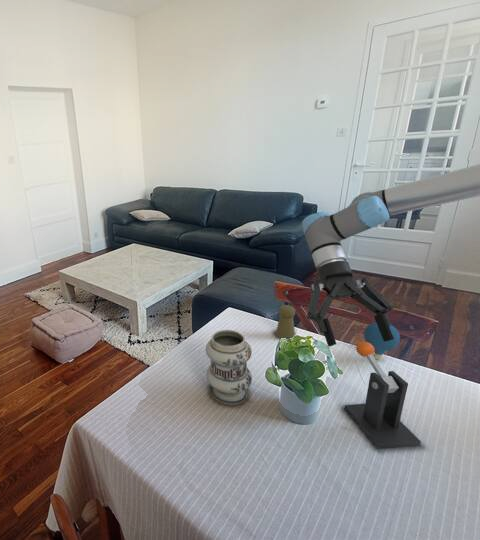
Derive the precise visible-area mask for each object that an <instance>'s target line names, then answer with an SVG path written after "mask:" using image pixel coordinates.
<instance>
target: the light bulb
mask: <svg viewBox="0 0 480 540" xmlns="http://www.w3.org/2000/svg"><path fill="white" fill-rule="evenodd" d="M389 328H390V330H391V333H392V335H393V337H394V339H393V340H390V341H386V342H384V341H383V338H382V336H381V333H380V331H379V328H378V326H377V323H376V321H375V322H372V323H370V324H368V325H367V326H366V327H365V329H364V332H363V339H364V342H368V343H370V344H372V345H373V347H374V349H375V352H374V354H373V356H374V358H375V359H376V360H381V359H383V358H382V357H383V355H384V354H385V352H389V351H392V350H394V349H396V348H397V347H398V346H399V344H400V342H401V335H400V332H399V331H398V329H397V328H396V327H395V326H394V325H392V324H391V326H389Z"/></svg>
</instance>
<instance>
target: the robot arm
mask: <svg viewBox="0 0 480 540" xmlns="http://www.w3.org/2000/svg"><path fill="white" fill-rule="evenodd" d="M477 197H480V163H478V164H474V165H471V166H467V167H463V168H460V169H456V170H452V171H447V172H445V173H441V174H438V175H437V174H436V175H434V176H430V177H426V178H421V179H418V180H414V181H411V182H407V183H404V184H399V185H396V186H392V187H389V188H384V189H381V190H377V191H373V192H371V191H367V192H363V193H360V194H358V195H357V196H356V197H354V198H353V199H352V201H351V203H350V204H349V205H348V206H346V207H345V208H343V209H341V210H339V211H336V212H335V213H333V214H330V213H328V212H326V211H318V212H315V213H312V214H309V215H307V216H306V217H305V218H304V219H303V220H302V222H301V226H302V231H303V235H304V238H305V240H306V243H307V246H308V248H309V251H310V254H311V257H312V259H313V263H314V266H315V268H316V269H317V270H316V271H317V274H318V278H319V280H320V282H321V283H320V282H317V281H315V282H314V283H312V284H311V285H310V292H311V294H310V299H309V305H308V310H307V315H306V318H307V319H308V320H312V321H314V322H315V323H316V324H317V327H318V330H319V332H320V333H321V334H323V336H324V338H325V341H326V344H327V347H333V346H335V345H337V340H336V338H335V335H334V332H333V330H332V327H331V323H330V320H329V318H328V317H327V318H325V317H326V314H327V312H328V311H329V309H330V308H331V307H330V306H331V305H332V303H333V301H334V299H335V300H340V299H349V298H350V299H352V300H355V301H356V302H357V303H359V304H361V305H362V306H364V307H365V308H367V310H369V311H371V312H373V313H374V314H375V316H373V318H374V321H375V322H376V323H377V326H378V328H379V331H380V333H381V336H382V338H383V341H384V342H386V341H390V340H393V339H394V337H393V335H392V333H391V330H390V328H389V326H391V325H392V323H391V321H390V318H389V316H388V313H389V312H390V311H392V310H393V309H394V306H393V305H392V304H391V303H389V301H388V300H387V299H386V298H385V297H384V296H382V295H381V293H380V292H379V291H378V290H376V289H375V288H374V286H372V285H371V283H370V281H369V279H368V278H367V277H362V278H361V279H358V280H356V279H355V278H354V277H353V270H352V268H351V266H350V263H349V262H348V257H347V255H346V252H345V251H344V248H343V245H342V243H341V242H342V241H343V240H346V239H348V238H350V237H354V236H355V235H358V234H361V233H363V232H365V231H368V230H370V229H373V228H377V227H378V226H379V225H382V224H385V223H386V222H388V221H389V220H390V217H391V216H394V215H395V216H396V215H398V214H403V213H404V214H405V213H408V212H413V211H417V210H422V209H426V208H431V207H437V206H440V205H445V204H449V203H450V204H451V203H455V202H459V201H464V200H468V199H473V198H477ZM322 290H323V291H324V292H325V293H326V295H325V296H324V299H323V302H322V303H321V306H320V307H319V309H318V306H319V301H320V298H321V297H320V296H321V292H322Z"/></svg>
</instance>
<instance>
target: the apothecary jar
mask: <svg viewBox="0 0 480 540" xmlns="http://www.w3.org/2000/svg"><path fill="white" fill-rule="evenodd" d="M204 351H205V354H206V356H207V357H208V358H209V361H210V362H209V363H210V365H208V368H207V369H206V373H205V377H206V381H207V382H208V384H209V385H210V386H211V387H210V394H211V396H212V397H213V398H214V399H215V400H216V401H217V402H218V403H221V404H225V405H229V406H232V405H233V406H234V405H238V404H241V403H243V402H245V401H246V399H247V398H248V390H247V389H248V388H249V387H250V386H251V384H252V380H253V375H252V373H251V371H250V369H249V368H248V364H247V362H248V361H249V360H250V359H251V357H252V352H253V351H252V347H251V345H250V344H249V343H248V342H247V341H246V337H245V336H244V335H243V334H242V333H241V332H240V331H236V330H234V329H233V330H232V329H221V330H218V331H215V332H213V334H211V339H210V340H208V341H207V343H206V345H205V350H204Z"/></svg>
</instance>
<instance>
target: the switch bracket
mask: <svg viewBox="0 0 480 540" xmlns="http://www.w3.org/2000/svg"><path fill="white" fill-rule="evenodd" d="M387 376H392V378H393V379H394V381H395V382H396V384H397V385H398V387H399V388H398V389H397V390H396V391H395V392H394V393H388V389H389V385H388V384H387V383H386V382H385V381H384V380H383V379H382V378H381V377H379V376H378V375H377V373H376V372H370V374H369V380H368V386H367V390H366V391H367V392H366V397H365V403H354V404H353V403H352V404H345V405H344V408H343V409H344V411H345V412H346V413H347V414H348V415H349V417H350V418H351V419H352V420H353V421H354V423H355V424H356V425H357V426H358V428H360V430H361V431H362V432H363V433H364V435H366V437H367V438H368V440H369V441H371V443H372V444H373V445H374V447H375V448H376V449H377V450H380V449H397V448H409V447H419V446H421V443H422V441H421V440H420V439H419V438H418V437H417V436H416V435H415V434H414V433H413V432H412V431H411V430H410V429H409V428H408V427H407V426H406V425H405V424H404V423H403V422H402V421H401V418H402V413H403V410H404V404H405V400H406V396H407V391H408V387H409V383H408V382H407V381H406V380H405V379H403V378H402V377H401V376H400V375H399V374H397V373H396V372H395V371H394V370H389V371H388V372H387Z"/></svg>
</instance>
